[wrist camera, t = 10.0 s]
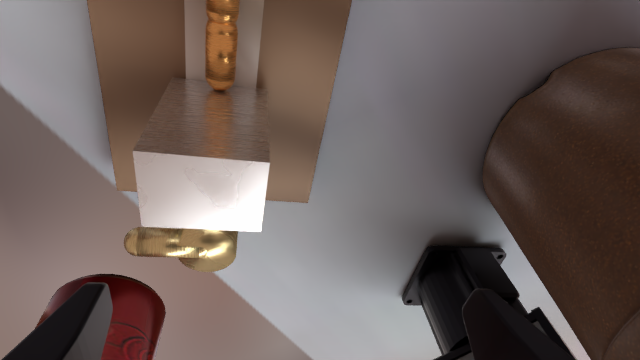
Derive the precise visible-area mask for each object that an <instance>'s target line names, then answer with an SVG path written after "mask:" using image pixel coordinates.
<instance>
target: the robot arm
mask: <svg viewBox="0 0 640 360" xmlns="http://www.w3.org/2000/svg"><path fill="white" fill-rule="evenodd" d="M505 257H506V253H505V252H504V250H503V249H500V248H477V247H454V246H430V247H428V248H427V249H426V251H425V253H424V255H423V257H422V259H421V261H420V263H419V265H418V267H417V269H416V271H415V273H414V275H413V277H412V279H411V281H410V283H409V285H408V287H407V289H406V291H405V293H404V295H403V297H402V300H403V303H404V304H405V305H422V307H423V310H424V312H425V315H426V317H427V319H428V322H429V324H430V327H431V329H432V332H433V334H434V337H435V339H436V341H437V344H438V346H439V349H440V351H441V354H442V356H440V357H438V358H436V359H433V360H577V359H576V357H575V356H574V354H573V353H572V352H571V350H570V349H569V347H568V346H567V345H566V343H565V342H564V340H563V339H562V338H561V336H560V335H559V333H558V332H557V331H556V329H555V328H554V327H553V325H552V324H551V323H550V321H549V320H548V318H547V317H546V316H545V314H544V313H543V312H542V310H541V309H540V308H539V307H537V308H535V309H533V310H531V311H532V312H531V313H529V314H528V313H527V311H526V310H525V308H524V307H523V305H522V304H521V302H520V301H519V299H518V298H519V296H520V295H519V293H518V291H517V290H516V288H515V287H514V285H513V284H512V282H511V281H510V279H509V278H508V276H507V275H506V273H505V272H504V271H503V269H502V268H501V266H500V265H501V263H502V262H503V260H504V259H505ZM112 311H113V305H112V300H111V296H110V291H109V287H108V285H107V284H106V283H92V282H90V283H86V284H84V285H82V286H81V287H80V288H79V289H78V290H77V291H76V292H75V293H74V294H73V295H71V296H70V297H69V298H68V299H67V300H66V301H65V302H64V303H63V304H62V305H61V306H59V307H58V308H57V309H56V310H55V311H54V312H53V313H52V314H51V315H50V316H49V317H47V318H46V319H45V320H44V321H43V322H42V323H41V324H40V325H39V326H38V327H37V328H35V329H34V330H33V331H32V332H31V333H30V334H29V335H28V336H27V337H26V338H25V339H24V340H22V341H21V342H20V343H19V344H18V345H17V346H16V347H15V348H14V349H13V350H11V351H10V352H9V353H8V354H7V355H6V356H5V357H4V358H3V359H2V360H101V356H102V352H103V348H104V344H105V341H106V337H107V333H108V329H109V325H110V321H111V317H112Z"/></svg>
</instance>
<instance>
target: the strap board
mask: <svg viewBox="0 0 640 360" xmlns="http://www.w3.org/2000/svg"><path fill="white" fill-rule="evenodd" d="M351 2H352V0H240V6H239V17H238V20H237V22H236V25H237V29H238V40H237V57H236V74H235V81H234V84H233V85H237V86H245V87H252V88H260V89H267V91H268V121H269V150H270V166H269V174H268V181H267V189H266V197H265V200H271V201H286V202H302V203H308V200H309V195H310V191H311V186H312V181H313V177H314V172H315V168H316V163H317V158H318V154H319V149H320V145H321V140H322V135H323V131H324V126H325V122H326V117H327V112H328V108H329V103H330V99H331V94H332V89H333V85H334V80H335V76H336V71H337V67H338V62H339V57H340V53H341V48H342V44H343V39H344V34H345V30H346V25H347V21H348V16H349V11H350V7H351ZM87 4H88V10H89V16H90V23H91V29H92V35H93V42H94V48H95V54H96V60H97V67H98V73H99V79H100V86H101V92H102V98H103V105H104V111H105V117H106V123H107V130H108V136H109V142H110V149H111V155H112V161H113V168H114V174H115V180H116V186H117V190H118V191H133V192H137V183H136V175H135V167H134V158H133V149H134V147H135V146H136V144H137V142H138V140H139V138H140V136H141V135H142V133H143V131H144V129H145V127H146V125H147V124H148V122H149V120H150V118H151V116H152V114H153V113H154V111H155V109H156V107H157V105H158V103H159V101H160V100H161V98H162V96H163V94H164V92H165V90H166V89H167V87H168V85H169V83H170V81H171V79H172V78H173V77H175V78H183V79H191V80H198V81H206V78H205V30H206V23H207V21H208V17H207V14H206V0H87ZM206 82H207V81H206Z"/></svg>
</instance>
